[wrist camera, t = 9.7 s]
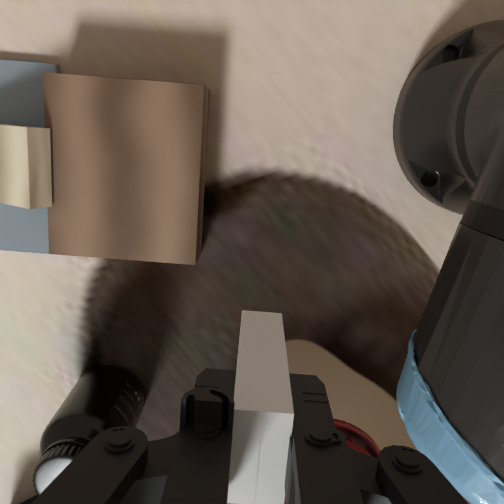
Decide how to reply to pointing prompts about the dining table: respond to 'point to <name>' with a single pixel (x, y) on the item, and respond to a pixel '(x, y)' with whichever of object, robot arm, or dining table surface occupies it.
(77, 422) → the supplement bottle
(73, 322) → the dining table surface
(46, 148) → the birch tile
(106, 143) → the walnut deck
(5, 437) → the dining table surface
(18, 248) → the rubber mat
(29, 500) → the digital camera
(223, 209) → the dining table surface
